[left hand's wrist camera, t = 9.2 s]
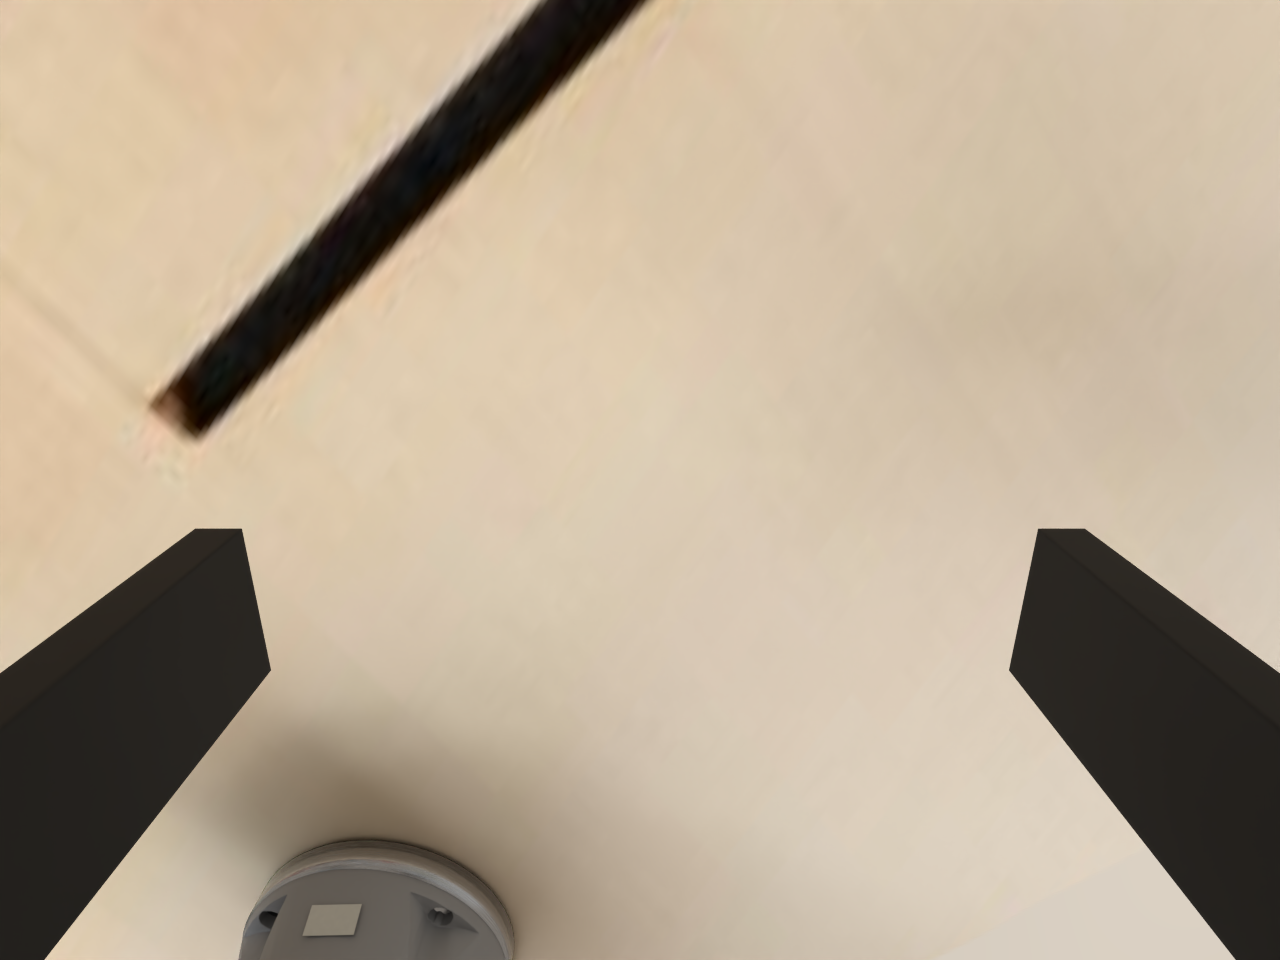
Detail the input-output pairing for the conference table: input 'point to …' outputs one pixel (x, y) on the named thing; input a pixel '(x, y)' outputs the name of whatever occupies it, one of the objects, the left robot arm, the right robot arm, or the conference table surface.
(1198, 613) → the left robot arm
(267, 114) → the conference table surface
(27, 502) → the conference table surface
